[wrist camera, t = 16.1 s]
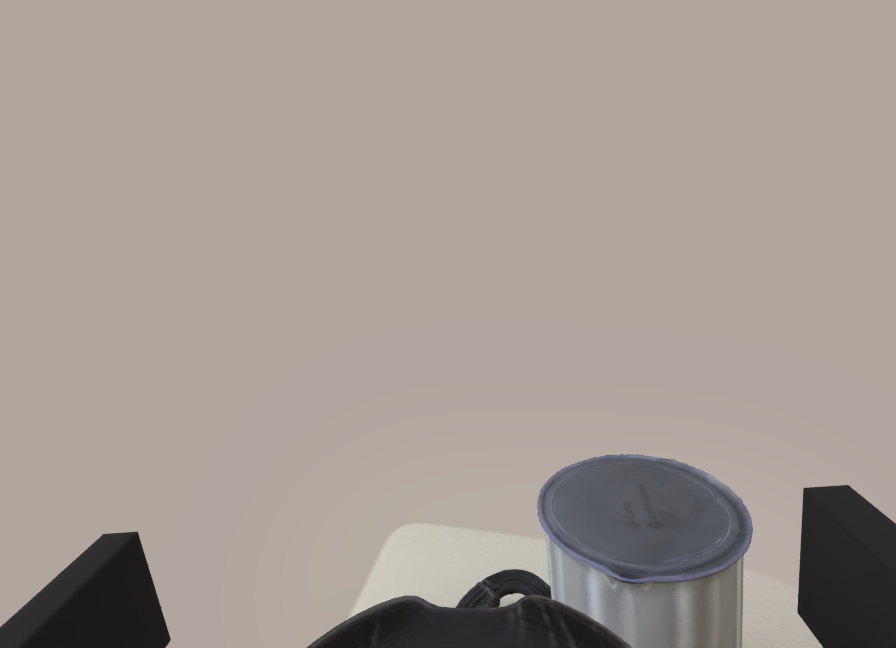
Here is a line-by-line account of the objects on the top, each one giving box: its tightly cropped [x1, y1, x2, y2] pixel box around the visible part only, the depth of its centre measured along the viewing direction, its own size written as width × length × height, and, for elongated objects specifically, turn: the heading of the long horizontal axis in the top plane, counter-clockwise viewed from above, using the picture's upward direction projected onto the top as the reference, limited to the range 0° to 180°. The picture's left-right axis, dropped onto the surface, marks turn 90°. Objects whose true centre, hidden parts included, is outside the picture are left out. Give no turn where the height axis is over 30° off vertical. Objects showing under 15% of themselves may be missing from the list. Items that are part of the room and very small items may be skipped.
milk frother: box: [456, 454, 753, 648], centre depth 28 cm, size 14×16×15 cm
